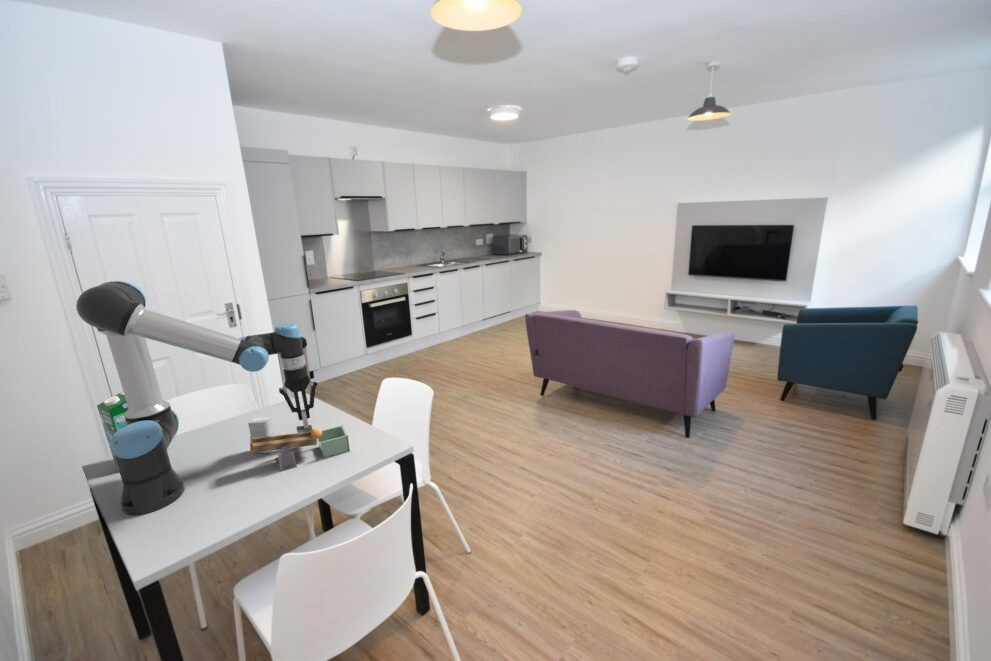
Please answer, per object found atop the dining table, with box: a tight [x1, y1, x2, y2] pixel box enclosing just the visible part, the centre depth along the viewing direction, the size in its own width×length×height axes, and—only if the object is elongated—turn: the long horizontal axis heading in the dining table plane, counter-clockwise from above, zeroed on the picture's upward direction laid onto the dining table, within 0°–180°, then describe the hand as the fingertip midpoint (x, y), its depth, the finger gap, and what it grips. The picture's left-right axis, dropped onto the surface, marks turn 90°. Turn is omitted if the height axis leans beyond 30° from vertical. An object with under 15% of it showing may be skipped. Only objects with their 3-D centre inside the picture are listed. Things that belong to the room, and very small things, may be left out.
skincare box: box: [247, 417, 275, 454], centre depth 156 cm, size 6×4×12 cm
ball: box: [311, 428, 322, 440], centre depth 152 cm, size 4×4×4 cm
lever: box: [249, 424, 318, 454], centre depth 151 cm, size 20×15×3 cm
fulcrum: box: [277, 434, 297, 472], centre depth 148 cm, size 5×10×8 cm, turn 29°
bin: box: [317, 424, 351, 459], centre depth 155 cm, size 9×9×6 cm
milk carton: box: [96, 391, 128, 466], centre depth 150 cm, size 9×9×25 cm
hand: (306, 426), depth 159 cm, fingers closed
